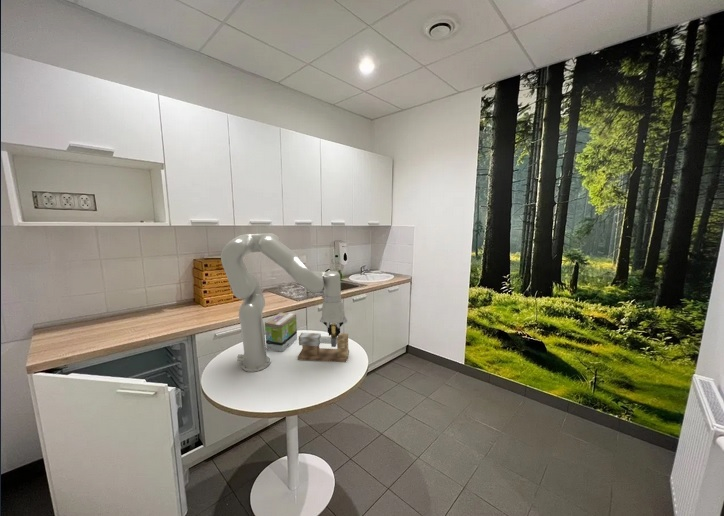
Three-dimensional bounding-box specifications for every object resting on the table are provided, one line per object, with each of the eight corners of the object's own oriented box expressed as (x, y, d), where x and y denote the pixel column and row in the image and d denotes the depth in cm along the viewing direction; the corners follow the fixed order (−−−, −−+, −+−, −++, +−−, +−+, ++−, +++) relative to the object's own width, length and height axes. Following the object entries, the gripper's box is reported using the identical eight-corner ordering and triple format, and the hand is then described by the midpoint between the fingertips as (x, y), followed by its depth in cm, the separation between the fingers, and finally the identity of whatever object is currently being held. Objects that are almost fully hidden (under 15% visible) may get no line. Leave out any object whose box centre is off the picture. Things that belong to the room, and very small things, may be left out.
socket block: (337, 356, 141) (336, 338, 139) (339, 351, 146) (338, 333, 144) (346, 357, 141) (346, 338, 139) (348, 351, 146) (348, 333, 144)
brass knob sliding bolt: (311, 345, 142) (310, 325, 140) (314, 341, 146) (313, 321, 144) (341, 347, 140) (341, 326, 138) (343, 342, 145) (342, 322, 143)
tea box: (283, 352, 149) (281, 324, 146) (266, 349, 152) (263, 322, 149) (297, 338, 163) (296, 313, 160) (281, 336, 166) (279, 311, 163)
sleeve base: (297, 359, 142) (296, 339, 140) (303, 350, 151) (302, 330, 148) (346, 362, 139) (345, 341, 137) (349, 352, 148) (348, 332, 146)
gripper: (313, 300, 135) (315, 337, 139) (349, 301, 134) (349, 338, 137) (317, 294, 143) (319, 330, 146) (351, 295, 141) (352, 331, 145)
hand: (334, 334), depth 142 cm, fingers closed on brass knob sliding bolt, 3 cm apart
